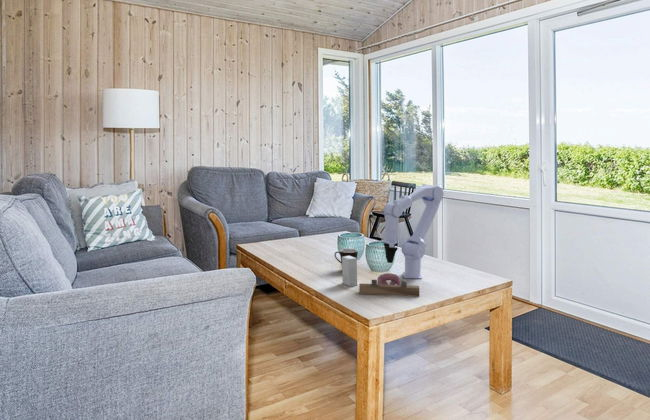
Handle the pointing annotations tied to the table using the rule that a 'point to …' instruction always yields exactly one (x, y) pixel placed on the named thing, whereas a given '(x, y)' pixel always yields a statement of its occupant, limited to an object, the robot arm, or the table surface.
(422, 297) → the table surface
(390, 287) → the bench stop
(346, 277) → the skincare box
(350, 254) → the coffee mug
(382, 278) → the video game controller
